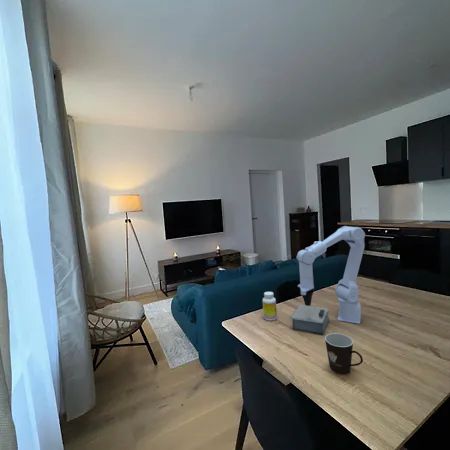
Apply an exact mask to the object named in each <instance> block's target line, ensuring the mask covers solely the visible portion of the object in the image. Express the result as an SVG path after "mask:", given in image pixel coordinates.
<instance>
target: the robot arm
mask: <svg viewBox="0 0 450 450" xmlns="http://www.w3.org/2000/svg"><path fill="white" fill-rule="evenodd" d="M365 238H366V233H365V231H364V230H363V228H361V227H359V226H347V225H344V226H341V227H340V228H337V230H336V231H335V232H334V233H332V234H331V235H329V236H328V237H327V238H325V239H323V241H320V240H318V241H314V242H313V244H311V245H310V246H307V247H305V248H304V249H301V250H299V251H298V252H297V255H296V260H297V262H298V265H299V267H298V268H299V282H300V283H299V284H298V285H297V287H298V288H299V289H300V290H299V293H300V295H301V297H302V299H303V302H304V305H305V306H312V305H311V304H312V301H313V300H312V299H313V294H314V292H315V286H314V272H313V263H314V262H315V259H316V258H318V257H320V256H321V255H323V254H324V253H326V252H327V248H329V247H331V246H333V245H334V244H337V243H338V242H340V241H343V240H344V241H345V242H346V243H347V244H348V245H349V247H350V249H349V253H348V257H347V261H346V265H345V269H344V273H343V277H342V279H340V280H338V284H337V285H336V286H335V288H334V293H335V295H336V296H337V299H338V300H337V301H338V317H337V321H340V322H346V323H347V322H348V323H354V324H361V321H362V320H361V319H362V313H361V311H362V310H361V309H362V308H361V301H358V300H359V296H360V295H359V286H358V284H357V283H356V282H357V277H358V274H359V270H360V265H361V263H362V262H361V261H362V258H363V253H364V251H365V247H366V245H365V244H366V243H365Z"/></svg>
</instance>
